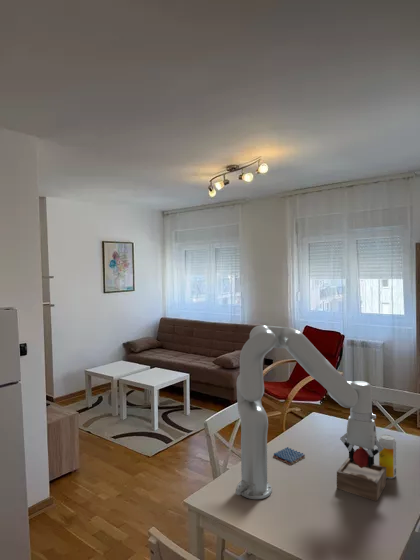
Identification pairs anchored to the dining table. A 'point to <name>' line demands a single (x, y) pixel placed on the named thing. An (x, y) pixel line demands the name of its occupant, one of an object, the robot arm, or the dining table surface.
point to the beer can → (388, 455)
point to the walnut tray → (361, 479)
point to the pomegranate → (361, 457)
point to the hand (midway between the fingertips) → (361, 462)
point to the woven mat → (289, 455)
